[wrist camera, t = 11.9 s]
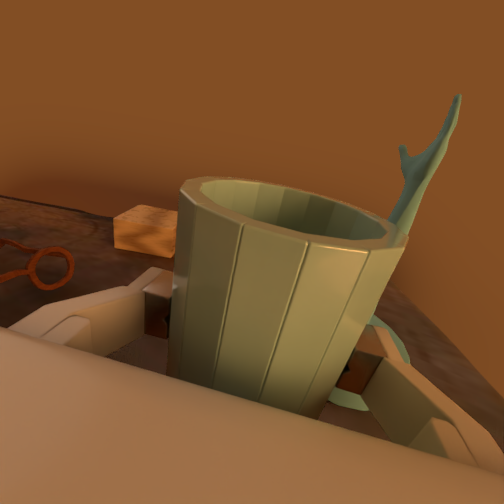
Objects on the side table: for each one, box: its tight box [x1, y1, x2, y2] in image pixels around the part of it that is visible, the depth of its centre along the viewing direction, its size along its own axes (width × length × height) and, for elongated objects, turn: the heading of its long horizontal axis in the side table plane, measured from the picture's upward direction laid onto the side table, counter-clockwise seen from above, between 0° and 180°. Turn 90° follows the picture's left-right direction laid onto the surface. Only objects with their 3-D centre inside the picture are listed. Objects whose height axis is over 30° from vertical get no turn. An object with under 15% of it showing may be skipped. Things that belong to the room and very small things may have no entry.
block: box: [113, 205, 178, 258], centre depth 42 cm, size 9×9×5 cm
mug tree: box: [328, 94, 461, 411], centre depth 21 cm, size 12×12×25 cm
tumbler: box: [166, 177, 409, 420], centre depth 9 cm, size 6×6×10 cm
